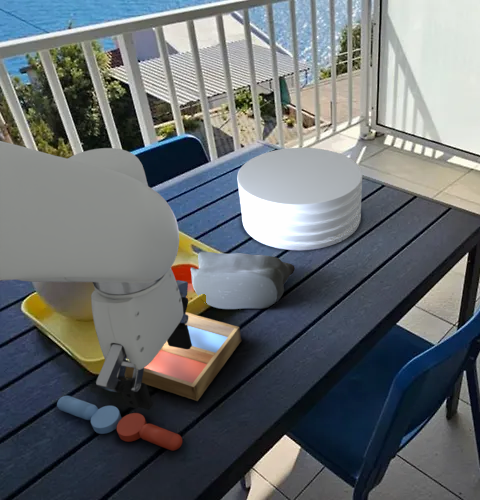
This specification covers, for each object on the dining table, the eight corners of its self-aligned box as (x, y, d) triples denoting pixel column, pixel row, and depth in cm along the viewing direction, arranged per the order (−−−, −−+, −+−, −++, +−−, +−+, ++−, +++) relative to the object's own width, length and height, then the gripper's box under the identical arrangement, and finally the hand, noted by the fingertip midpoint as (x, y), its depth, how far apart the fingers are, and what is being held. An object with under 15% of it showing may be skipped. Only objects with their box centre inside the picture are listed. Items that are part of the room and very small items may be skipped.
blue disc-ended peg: (127, 415, 73) (123, 406, 72) (109, 437, 70) (104, 427, 69) (71, 396, 76) (67, 386, 74) (52, 416, 73) (46, 406, 72)
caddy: (197, 401, 75) (194, 387, 74) (125, 377, 79) (120, 363, 77) (241, 340, 86) (239, 326, 84) (176, 322, 89) (172, 308, 87)
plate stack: (378, 237, 112) (381, 193, 106) (254, 260, 104) (249, 213, 98) (339, 182, 134) (339, 141, 127) (234, 197, 126) (228, 155, 119)
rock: (296, 273, 101) (294, 241, 97) (289, 311, 92) (287, 278, 87) (206, 271, 101) (200, 239, 97) (190, 308, 92) (183, 275, 88)
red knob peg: (112, 436, 70) (108, 427, 69) (131, 415, 73) (127, 405, 72) (173, 461, 67) (170, 451, 66) (190, 437, 70) (187, 428, 69)
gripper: (142, 219, 60) (169, 322, 70) (39, 314, 46) (91, 425, 56) (199, 227, 59) (218, 331, 69) (111, 328, 45) (151, 439, 55)
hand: (161, 373), depth 63 cm, fingers open, 9 cm apart
